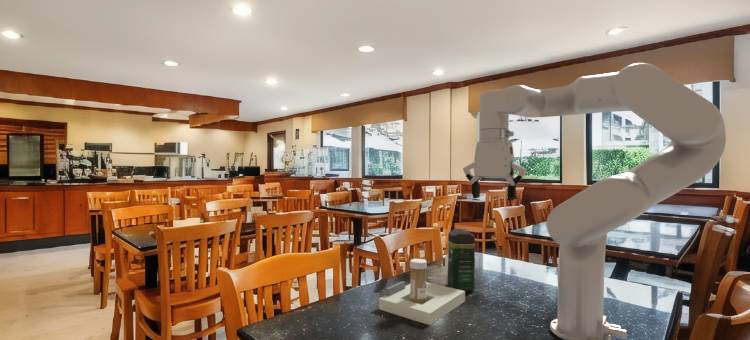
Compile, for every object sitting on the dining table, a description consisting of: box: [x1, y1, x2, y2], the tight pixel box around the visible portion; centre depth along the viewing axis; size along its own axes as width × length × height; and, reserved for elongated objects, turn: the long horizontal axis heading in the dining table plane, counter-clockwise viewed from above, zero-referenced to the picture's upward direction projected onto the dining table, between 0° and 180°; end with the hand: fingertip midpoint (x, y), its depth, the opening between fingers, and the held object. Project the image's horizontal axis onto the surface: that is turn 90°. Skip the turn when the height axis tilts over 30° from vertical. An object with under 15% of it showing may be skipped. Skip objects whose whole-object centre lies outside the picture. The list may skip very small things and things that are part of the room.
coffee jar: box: [447, 228, 476, 293], centre depth 121 cm, size 10×8×19 cm
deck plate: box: [378, 280, 466, 326], centre depth 107 cm, size 16×20×5 cm
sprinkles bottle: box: [409, 258, 428, 305], centre depth 104 cm, size 5×5×14 cm
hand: (493, 198), depth 104 cm, fingers open, 9 cm apart
